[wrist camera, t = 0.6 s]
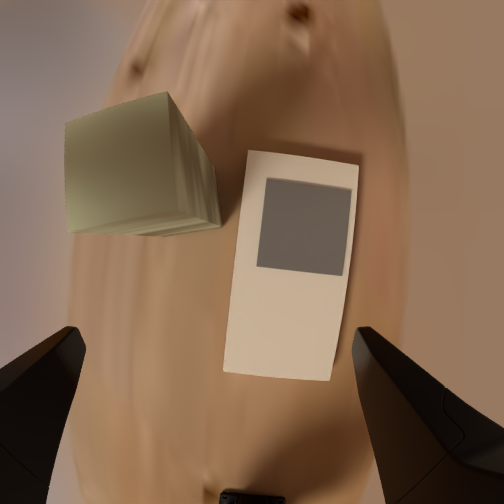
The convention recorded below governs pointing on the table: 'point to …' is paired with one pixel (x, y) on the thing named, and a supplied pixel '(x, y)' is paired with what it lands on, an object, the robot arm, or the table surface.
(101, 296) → the table surface
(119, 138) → the post
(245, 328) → the baseplate
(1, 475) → the robot arm
